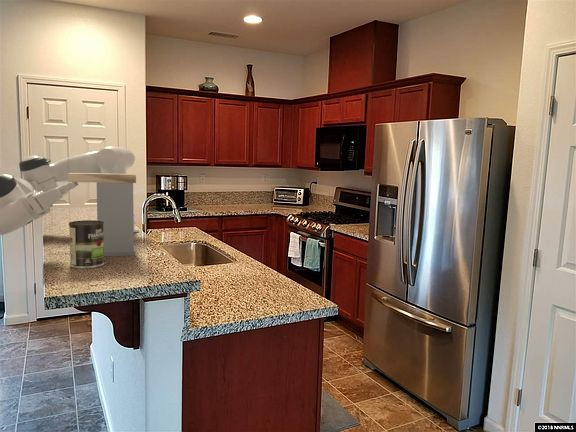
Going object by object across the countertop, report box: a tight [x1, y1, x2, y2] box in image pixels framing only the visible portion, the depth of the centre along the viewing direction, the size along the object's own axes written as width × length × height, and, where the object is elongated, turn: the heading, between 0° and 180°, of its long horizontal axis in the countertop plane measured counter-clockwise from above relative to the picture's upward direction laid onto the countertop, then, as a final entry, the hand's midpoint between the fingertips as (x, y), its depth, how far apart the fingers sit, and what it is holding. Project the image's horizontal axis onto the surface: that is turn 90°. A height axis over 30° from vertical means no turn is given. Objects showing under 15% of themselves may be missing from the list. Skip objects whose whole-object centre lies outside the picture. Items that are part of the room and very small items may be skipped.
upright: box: [96, 182, 136, 257], centre depth 162 cm, size 9×13×26 cm
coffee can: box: [68, 219, 105, 270], centre depth 145 cm, size 10×10×14 cm
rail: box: [68, 173, 137, 184], centre depth 159 cm, size 4×22×3 cm, turn 110°
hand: (76, 183), depth 156 cm, fingers open, 8 cm apart
